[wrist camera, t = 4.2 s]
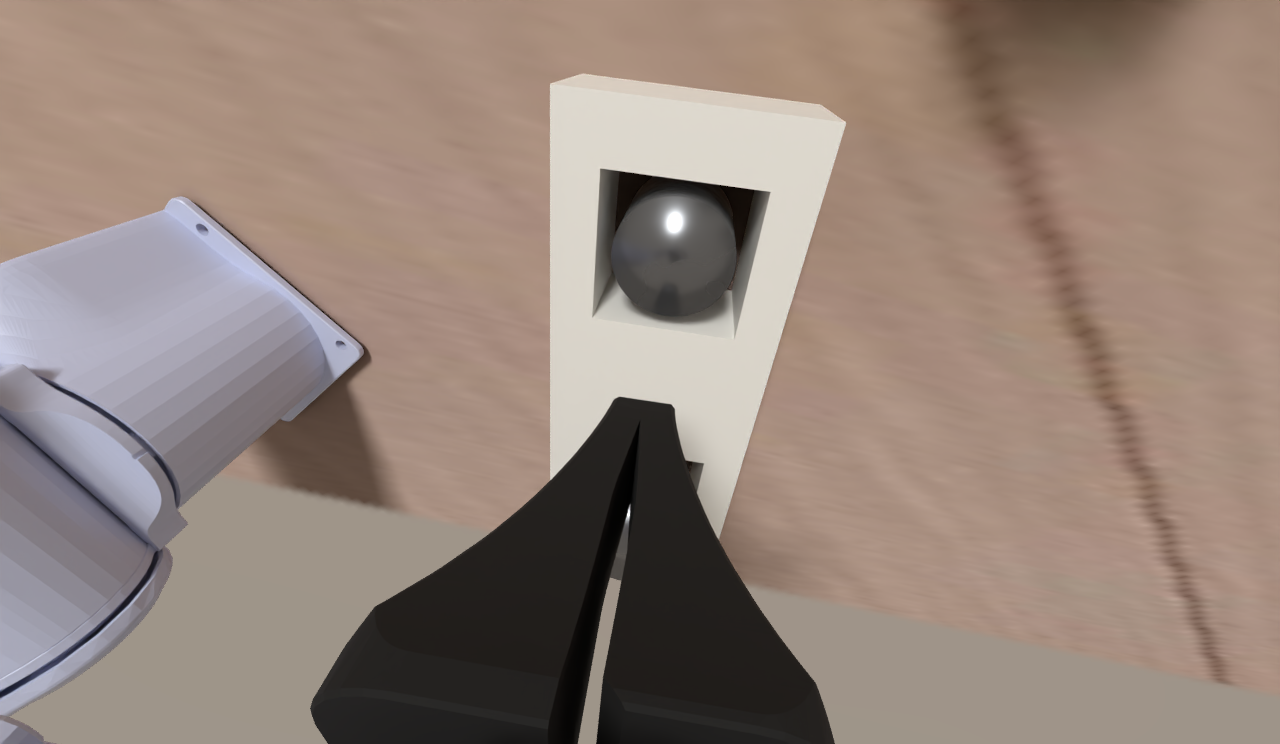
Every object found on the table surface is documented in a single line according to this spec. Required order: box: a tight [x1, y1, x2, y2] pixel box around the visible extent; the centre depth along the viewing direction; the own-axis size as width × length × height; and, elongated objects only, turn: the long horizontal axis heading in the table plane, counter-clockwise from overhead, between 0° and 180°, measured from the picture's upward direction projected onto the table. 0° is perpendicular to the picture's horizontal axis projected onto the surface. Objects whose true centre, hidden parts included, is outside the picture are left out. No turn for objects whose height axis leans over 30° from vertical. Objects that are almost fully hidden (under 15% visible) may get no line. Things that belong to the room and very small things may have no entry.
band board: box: [550, 74, 846, 540], centre depth 21 cm, size 20×8×4 cm, turn 174°
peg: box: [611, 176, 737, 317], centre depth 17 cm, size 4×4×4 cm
